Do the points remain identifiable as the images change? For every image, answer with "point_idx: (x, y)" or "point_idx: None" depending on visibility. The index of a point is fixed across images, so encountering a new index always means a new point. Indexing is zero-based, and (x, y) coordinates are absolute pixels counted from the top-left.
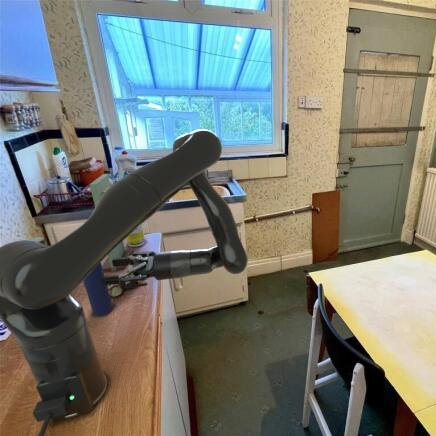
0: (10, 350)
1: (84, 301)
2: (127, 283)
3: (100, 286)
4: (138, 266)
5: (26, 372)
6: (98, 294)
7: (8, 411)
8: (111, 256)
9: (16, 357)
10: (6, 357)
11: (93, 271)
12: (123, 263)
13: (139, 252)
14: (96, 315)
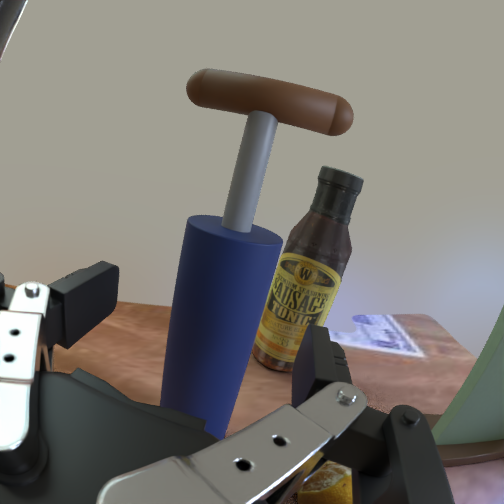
0: (149, 307)
1: (267, 401)
2: (310, 496)
3: (171, 344)
4: (11, 378)
5: None
6: (164, 363)
7: (12, 286)
8: (457, 406)
9: (121, 308)
10: (133, 303)
11: (183, 249)
12: (299, 391)
13: (428, 454)
14: None
